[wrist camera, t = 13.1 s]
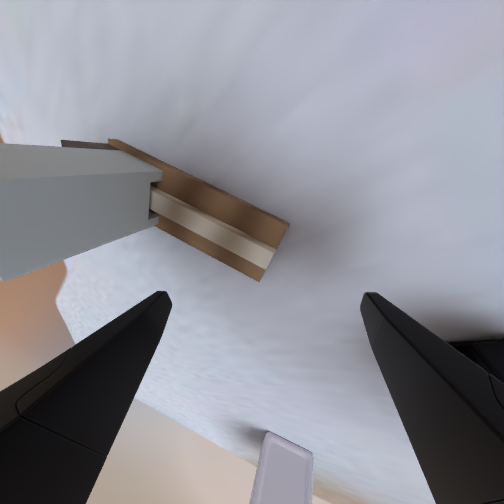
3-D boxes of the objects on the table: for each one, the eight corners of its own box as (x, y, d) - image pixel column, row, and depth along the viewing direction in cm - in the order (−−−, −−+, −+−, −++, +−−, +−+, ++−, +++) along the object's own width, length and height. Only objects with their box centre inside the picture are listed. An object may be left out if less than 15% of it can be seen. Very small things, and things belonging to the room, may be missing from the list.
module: (163, 170, 18) (-48, 182, 8) (158, 223, 21) (3, 282, 11) (122, 150, 18) (-127, 135, 8) (123, 205, 21) (-56, 243, 11)
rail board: (289, 223, 17) (279, 243, 13) (261, 277, 21) (246, 306, 16) (117, 139, 19) (59, 132, 15) (119, 201, 23) (73, 210, 19)
